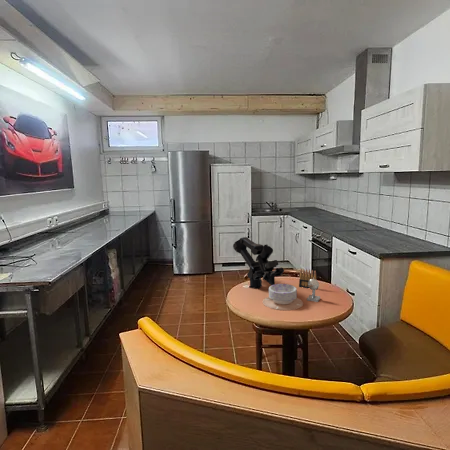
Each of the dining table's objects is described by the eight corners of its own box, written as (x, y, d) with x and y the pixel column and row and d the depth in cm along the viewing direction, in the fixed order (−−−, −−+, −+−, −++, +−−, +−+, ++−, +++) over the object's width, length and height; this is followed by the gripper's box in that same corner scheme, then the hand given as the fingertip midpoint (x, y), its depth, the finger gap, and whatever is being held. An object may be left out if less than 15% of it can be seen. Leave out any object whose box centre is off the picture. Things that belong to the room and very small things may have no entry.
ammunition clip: (298, 287, 208) (299, 268, 206) (299, 286, 209) (300, 267, 208) (315, 289, 202) (316, 270, 201) (316, 288, 204) (317, 269, 202)
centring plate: (256, 305, 178) (256, 305, 178) (270, 293, 197) (271, 292, 197) (296, 313, 168) (296, 312, 168) (307, 299, 187) (307, 298, 187)
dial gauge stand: (306, 300, 185) (307, 279, 183) (309, 296, 190) (310, 276, 189) (317, 301, 182) (318, 280, 181) (320, 298, 188) (320, 277, 186)
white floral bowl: (275, 308, 174) (275, 293, 173) (264, 298, 189) (264, 284, 188) (301, 305, 178) (301, 290, 177) (289, 295, 192) (289, 282, 191)
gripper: (254, 257, 188) (265, 281, 179) (282, 254, 196) (293, 276, 187) (248, 267, 196) (257, 291, 188) (275, 264, 204) (285, 286, 195)
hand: (274, 286), depth 189 cm, fingers closed
